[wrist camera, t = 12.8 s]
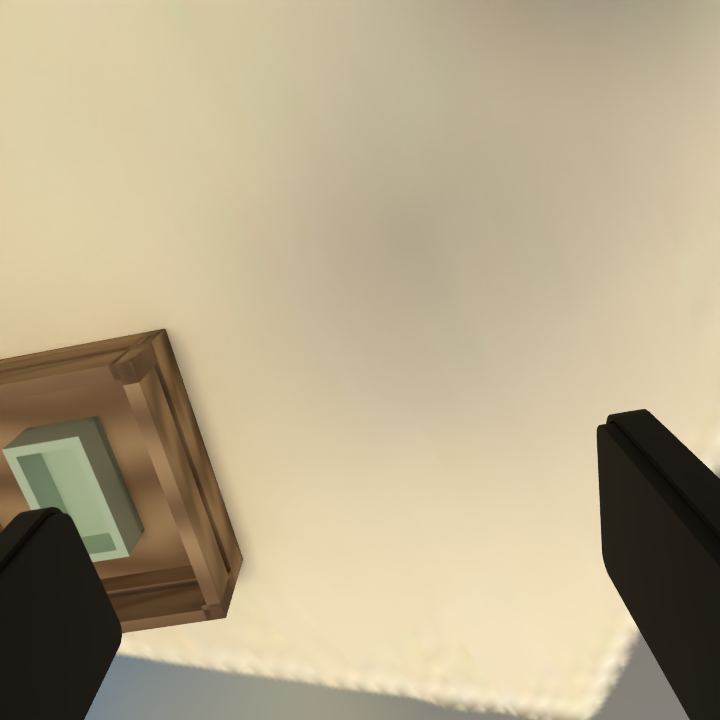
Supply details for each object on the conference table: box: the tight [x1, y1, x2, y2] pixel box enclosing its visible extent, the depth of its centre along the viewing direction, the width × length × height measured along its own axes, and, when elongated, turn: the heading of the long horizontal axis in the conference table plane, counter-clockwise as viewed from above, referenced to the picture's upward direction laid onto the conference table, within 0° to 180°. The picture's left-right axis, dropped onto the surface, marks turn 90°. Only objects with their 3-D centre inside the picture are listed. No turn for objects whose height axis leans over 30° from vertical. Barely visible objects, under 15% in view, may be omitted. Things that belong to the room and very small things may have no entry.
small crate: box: [2, 416, 145, 562], centre depth 40 cm, size 10×5×3 cm, turn 11°
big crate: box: [0, 329, 243, 633], centre depth 40 cm, size 20×18×6 cm
